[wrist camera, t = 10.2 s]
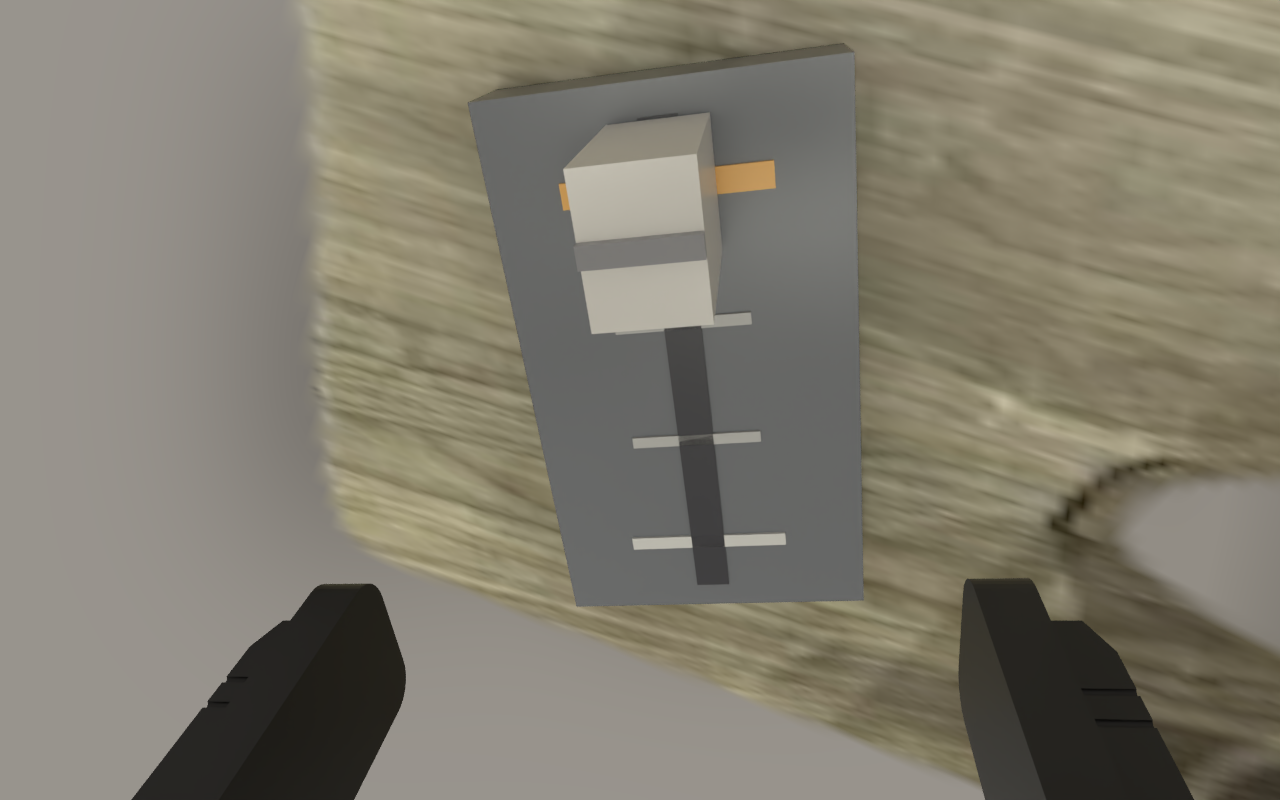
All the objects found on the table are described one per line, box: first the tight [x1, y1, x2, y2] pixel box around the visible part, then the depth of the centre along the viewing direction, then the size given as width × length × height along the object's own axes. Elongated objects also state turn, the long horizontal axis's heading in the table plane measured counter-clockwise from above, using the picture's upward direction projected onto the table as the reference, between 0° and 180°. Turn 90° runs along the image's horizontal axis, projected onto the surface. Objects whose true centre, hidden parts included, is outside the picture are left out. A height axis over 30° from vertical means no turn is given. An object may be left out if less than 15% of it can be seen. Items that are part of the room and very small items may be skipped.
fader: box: [563, 112, 722, 334], centre depth 21 cm, size 3×4×6 cm
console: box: [468, 43, 864, 606], centre depth 29 cm, size 11×19×3 cm, turn 8°
